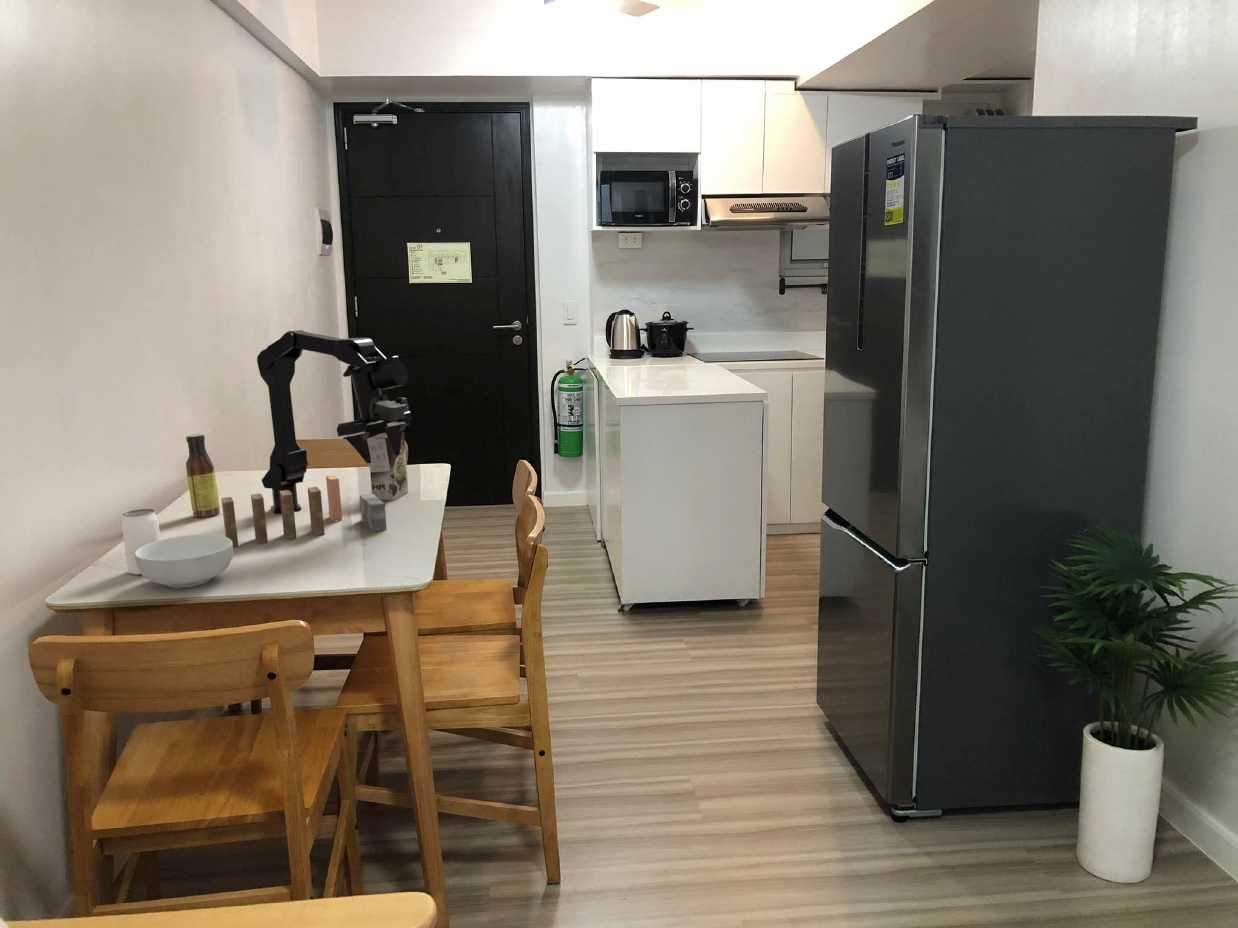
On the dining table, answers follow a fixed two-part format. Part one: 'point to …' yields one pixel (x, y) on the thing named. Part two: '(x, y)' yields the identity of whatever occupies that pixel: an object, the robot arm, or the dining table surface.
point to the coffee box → (387, 468)
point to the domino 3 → (288, 514)
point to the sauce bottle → (201, 478)
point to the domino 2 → (259, 518)
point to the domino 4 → (316, 511)
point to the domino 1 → (230, 520)
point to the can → (138, 533)
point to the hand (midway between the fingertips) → (383, 459)
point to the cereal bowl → (184, 559)
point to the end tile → (334, 497)
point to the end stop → (373, 512)
